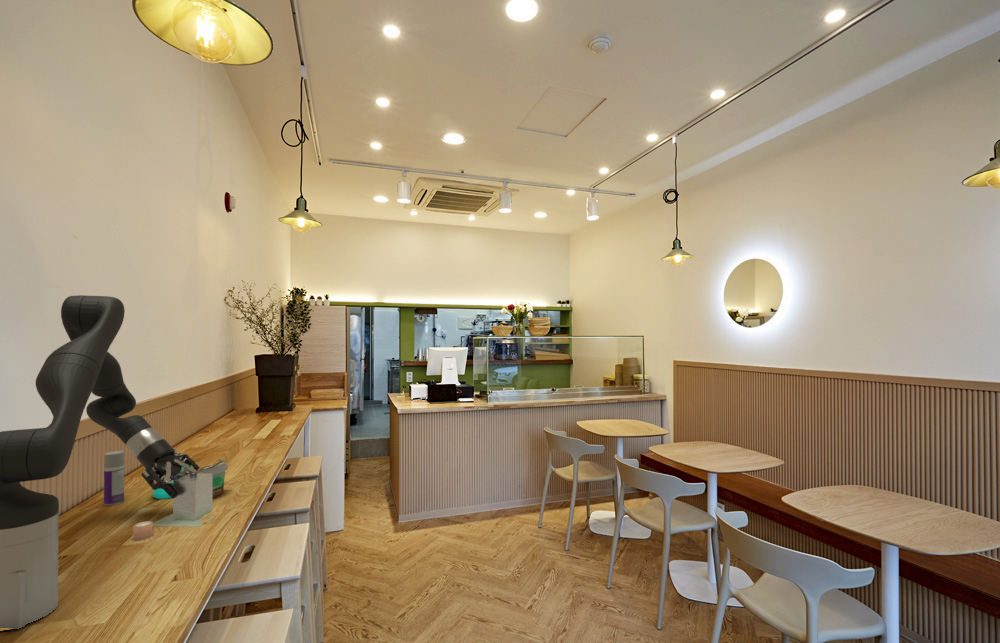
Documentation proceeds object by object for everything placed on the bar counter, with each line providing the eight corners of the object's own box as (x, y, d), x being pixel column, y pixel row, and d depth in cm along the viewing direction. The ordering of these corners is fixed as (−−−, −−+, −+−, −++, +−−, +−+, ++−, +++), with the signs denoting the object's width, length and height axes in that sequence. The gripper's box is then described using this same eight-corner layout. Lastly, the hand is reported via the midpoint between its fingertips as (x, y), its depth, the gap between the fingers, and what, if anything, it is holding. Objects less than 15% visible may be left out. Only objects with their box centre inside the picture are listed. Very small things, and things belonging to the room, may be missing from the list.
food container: (204, 506, 133) (205, 471, 134) (187, 504, 135) (187, 470, 135) (237, 491, 146) (237, 460, 146) (220, 490, 147) (220, 459, 147)
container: (100, 504, 136) (101, 453, 136) (119, 499, 140) (119, 450, 141) (108, 506, 134) (108, 455, 134) (127, 501, 138) (127, 451, 138)
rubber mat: (198, 528, 118) (198, 526, 118) (147, 527, 119) (147, 525, 119) (234, 507, 132) (234, 506, 132) (188, 506, 133) (188, 505, 133)
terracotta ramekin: (147, 541, 111) (147, 526, 111) (129, 542, 110) (129, 527, 111) (155, 534, 115) (156, 520, 115) (139, 535, 114) (139, 521, 114)
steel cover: (195, 520, 122) (195, 476, 122) (173, 519, 123) (173, 476, 123) (212, 511, 128) (212, 469, 129) (191, 510, 129) (191, 469, 129)
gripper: (137, 445, 120) (178, 489, 119) (179, 433, 134) (216, 472, 133) (118, 465, 120) (159, 509, 119) (162, 451, 134) (199, 490, 133)
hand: (189, 490), depth 126 cm, fingers open, 8 cm apart
